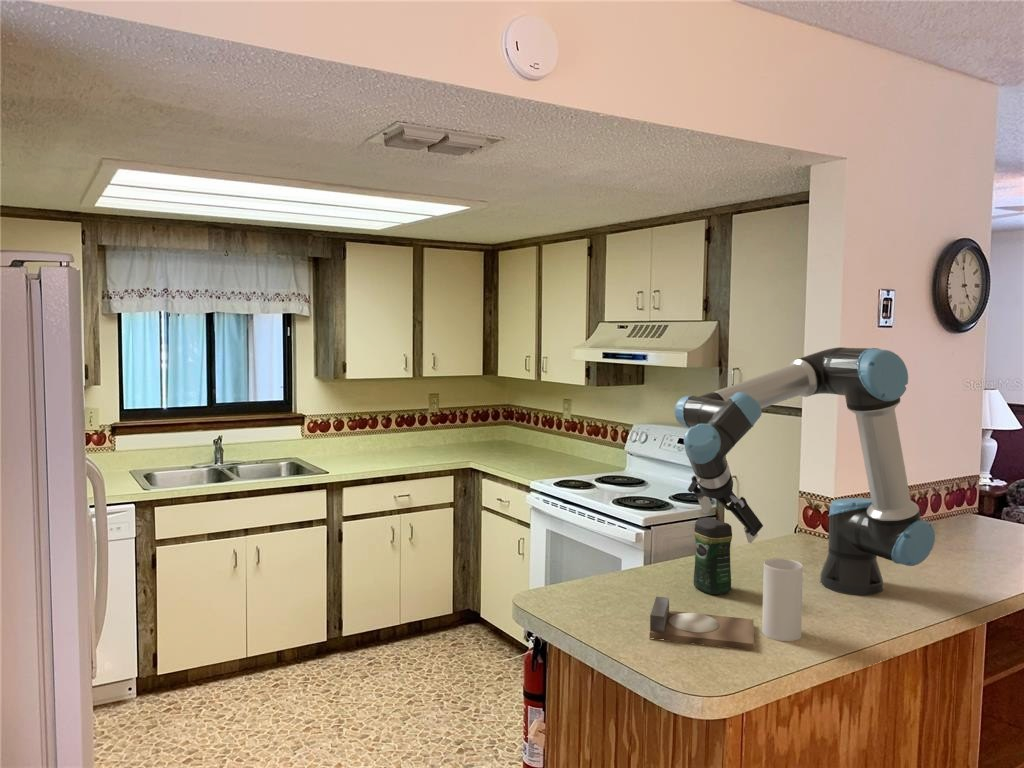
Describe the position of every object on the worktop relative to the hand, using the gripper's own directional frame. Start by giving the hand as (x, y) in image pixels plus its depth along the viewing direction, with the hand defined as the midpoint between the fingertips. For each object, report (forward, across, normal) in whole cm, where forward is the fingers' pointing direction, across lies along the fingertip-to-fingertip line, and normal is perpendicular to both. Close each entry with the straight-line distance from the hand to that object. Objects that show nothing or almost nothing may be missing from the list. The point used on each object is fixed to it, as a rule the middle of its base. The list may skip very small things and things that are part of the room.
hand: (729, 523), depth 187 cm
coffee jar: (+22, -2, -10) cm, 24 cm away
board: (+1, +12, -25) cm, 28 cm away
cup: (+7, +23, -13) cm, 27 cm away
